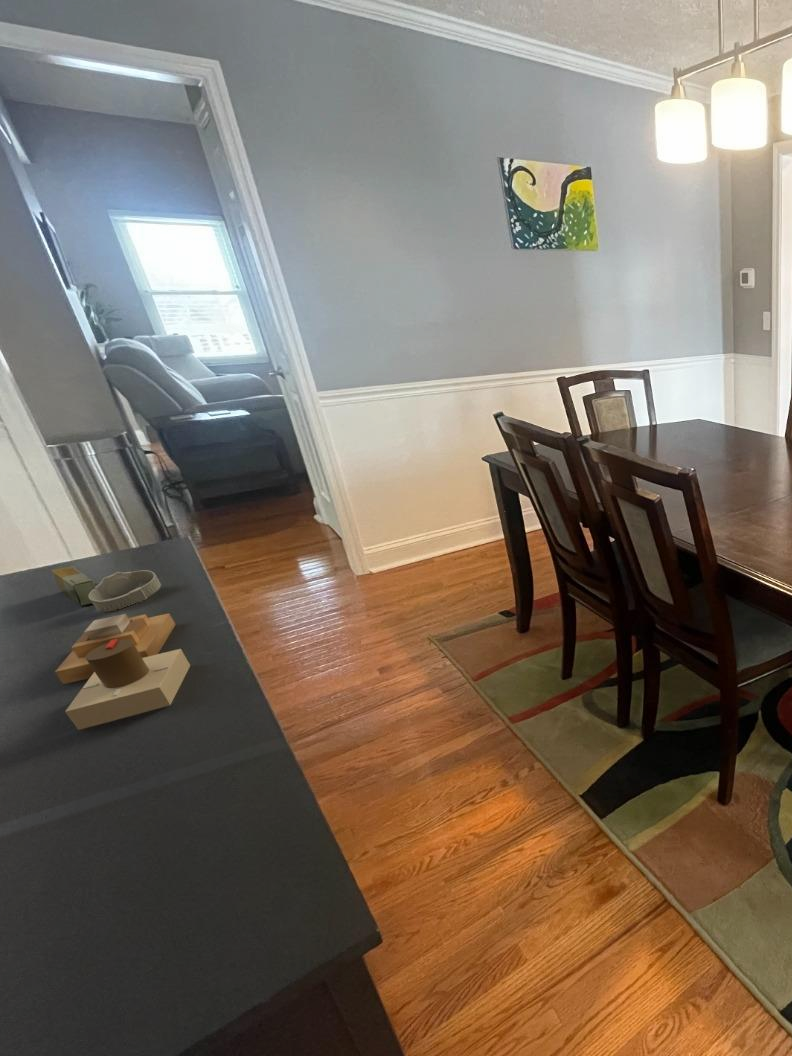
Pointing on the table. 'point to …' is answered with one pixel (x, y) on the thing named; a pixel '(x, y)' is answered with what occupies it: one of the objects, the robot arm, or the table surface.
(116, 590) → the grey woven basket
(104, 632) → the grey square frustum
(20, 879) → the table surface
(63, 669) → the block
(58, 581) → the medication box
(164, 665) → the volume panel
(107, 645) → the volume knob
